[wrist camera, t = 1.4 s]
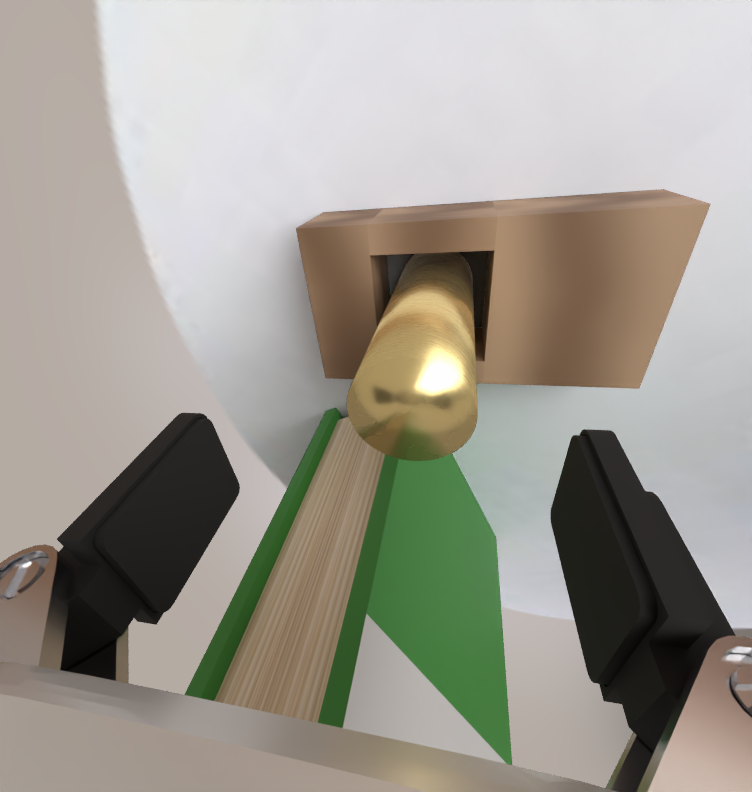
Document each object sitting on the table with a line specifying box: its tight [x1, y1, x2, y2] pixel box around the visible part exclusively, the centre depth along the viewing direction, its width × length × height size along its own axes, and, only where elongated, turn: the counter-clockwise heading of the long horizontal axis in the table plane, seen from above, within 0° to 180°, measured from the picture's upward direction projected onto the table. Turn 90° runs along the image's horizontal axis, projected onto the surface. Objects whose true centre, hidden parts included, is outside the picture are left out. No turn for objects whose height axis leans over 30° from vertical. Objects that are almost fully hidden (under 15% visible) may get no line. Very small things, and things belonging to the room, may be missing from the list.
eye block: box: [296, 189, 710, 388], centre depth 19 cm, size 16×8×4 cm, turn 95°
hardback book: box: [185, 408, 512, 765], centre depth 21 cm, size 18×7×24 cm, turn 28°
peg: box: [347, 252, 477, 461], centre depth 16 cm, size 4×4×12 cm
